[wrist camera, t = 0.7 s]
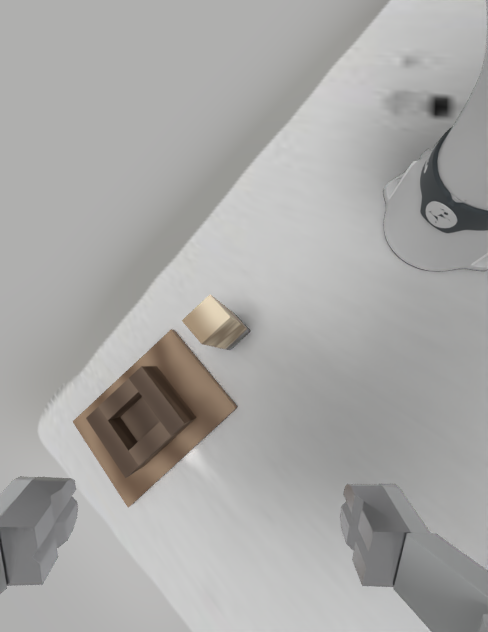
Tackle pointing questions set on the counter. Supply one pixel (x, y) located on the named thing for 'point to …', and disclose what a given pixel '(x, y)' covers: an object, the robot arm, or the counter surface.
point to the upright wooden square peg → (215, 324)
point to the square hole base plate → (153, 416)
